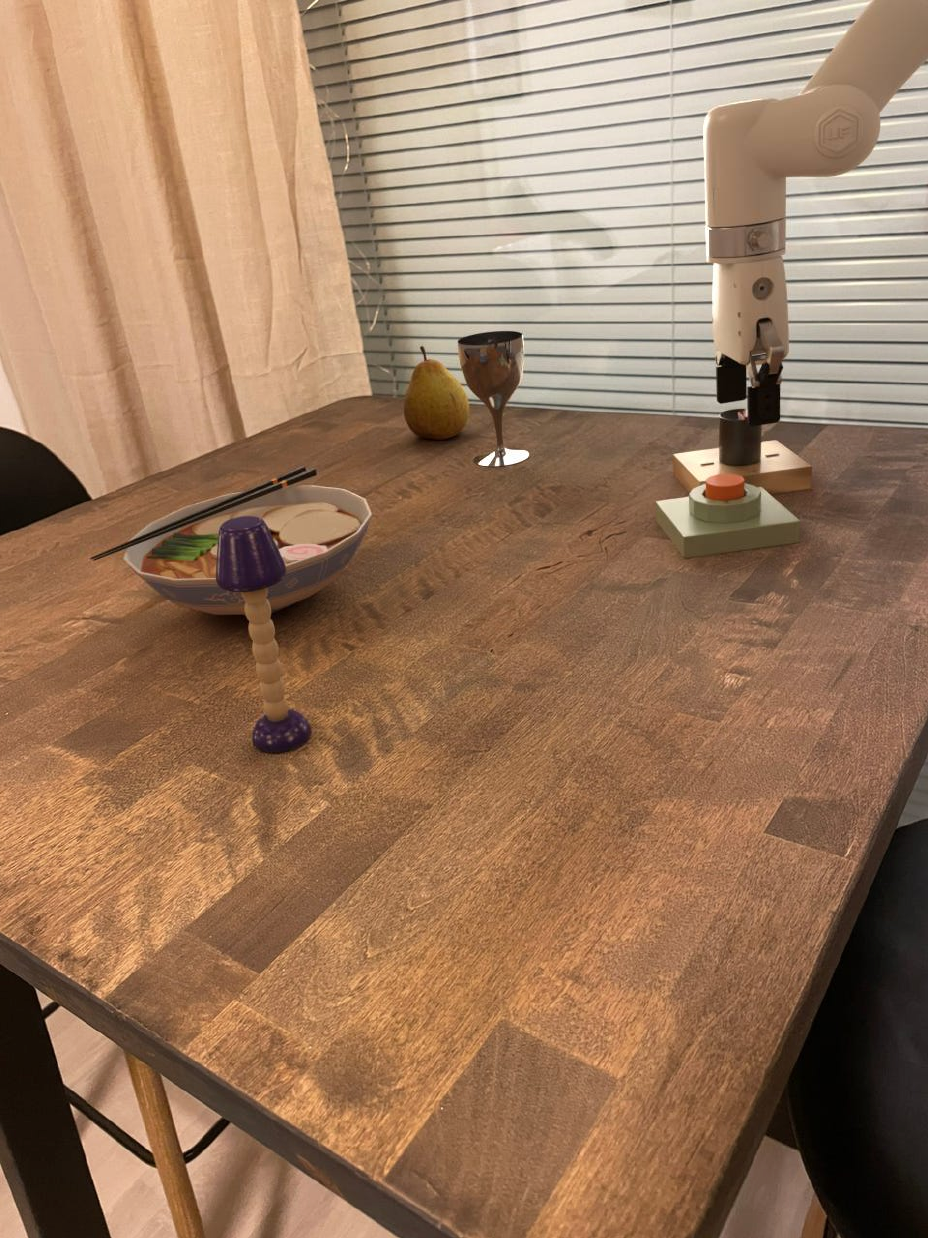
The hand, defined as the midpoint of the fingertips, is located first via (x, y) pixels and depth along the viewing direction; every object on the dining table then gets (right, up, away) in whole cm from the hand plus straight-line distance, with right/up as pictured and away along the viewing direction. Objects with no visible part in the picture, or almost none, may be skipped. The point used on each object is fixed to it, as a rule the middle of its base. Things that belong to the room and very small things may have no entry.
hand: (747, 411), depth 103 cm
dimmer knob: (0, -5, +3) cm, 5 cm away
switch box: (-5, -13, -8) cm, 16 cm away
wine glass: (-25, -1, +21) cm, 33 cm away
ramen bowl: (-49, -20, -10) cm, 54 cm away
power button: (-5, -10, -10) cm, 15 cm away
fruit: (-33, +4, +33) cm, 47 cm away
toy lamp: (-43, -31, -32) cm, 62 cm away
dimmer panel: (0, -7, +4) cm, 8 cm away
